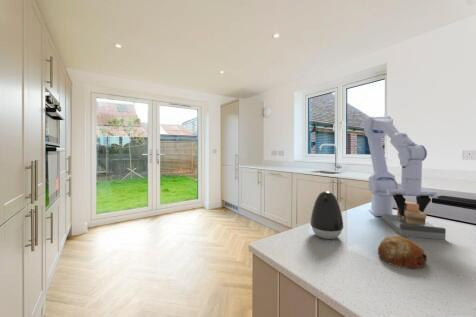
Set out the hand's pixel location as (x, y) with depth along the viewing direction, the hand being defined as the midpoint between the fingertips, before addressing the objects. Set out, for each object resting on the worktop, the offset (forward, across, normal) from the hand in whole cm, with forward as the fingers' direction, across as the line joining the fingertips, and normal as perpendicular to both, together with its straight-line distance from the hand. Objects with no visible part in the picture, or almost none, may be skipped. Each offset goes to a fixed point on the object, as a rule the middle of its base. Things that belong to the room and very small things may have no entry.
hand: (410, 215), depth 80 cm
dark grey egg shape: (+5, -30, -16) cm, 34 cm away
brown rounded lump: (+5, -12, -27) cm, 30 cm away
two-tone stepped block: (+2, 0, 0) cm, 2 cm away
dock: (+5, 0, 0) cm, 5 cm away
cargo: (-2, 0, 0) cm, 2 cm away
